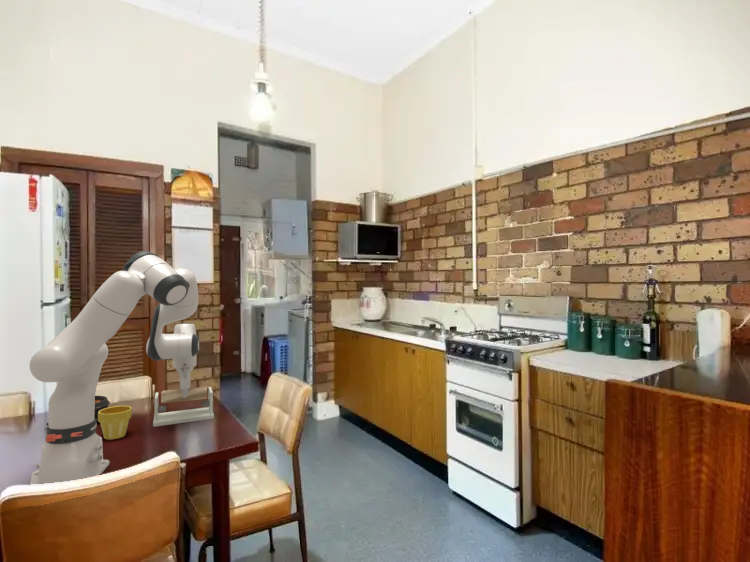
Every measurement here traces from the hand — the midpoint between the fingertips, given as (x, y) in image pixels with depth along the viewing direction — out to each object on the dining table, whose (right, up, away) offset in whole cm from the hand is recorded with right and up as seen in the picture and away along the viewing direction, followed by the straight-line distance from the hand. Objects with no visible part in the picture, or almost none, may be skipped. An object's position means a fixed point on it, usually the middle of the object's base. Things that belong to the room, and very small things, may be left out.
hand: (184, 395), depth 168 cm
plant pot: (-16, -9, -20) cm, 27 cm away
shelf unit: (0, -9, 0) cm, 9 cm away
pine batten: (0, -2, 0) cm, 2 cm away
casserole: (-38, -9, -4) cm, 40 cm away
